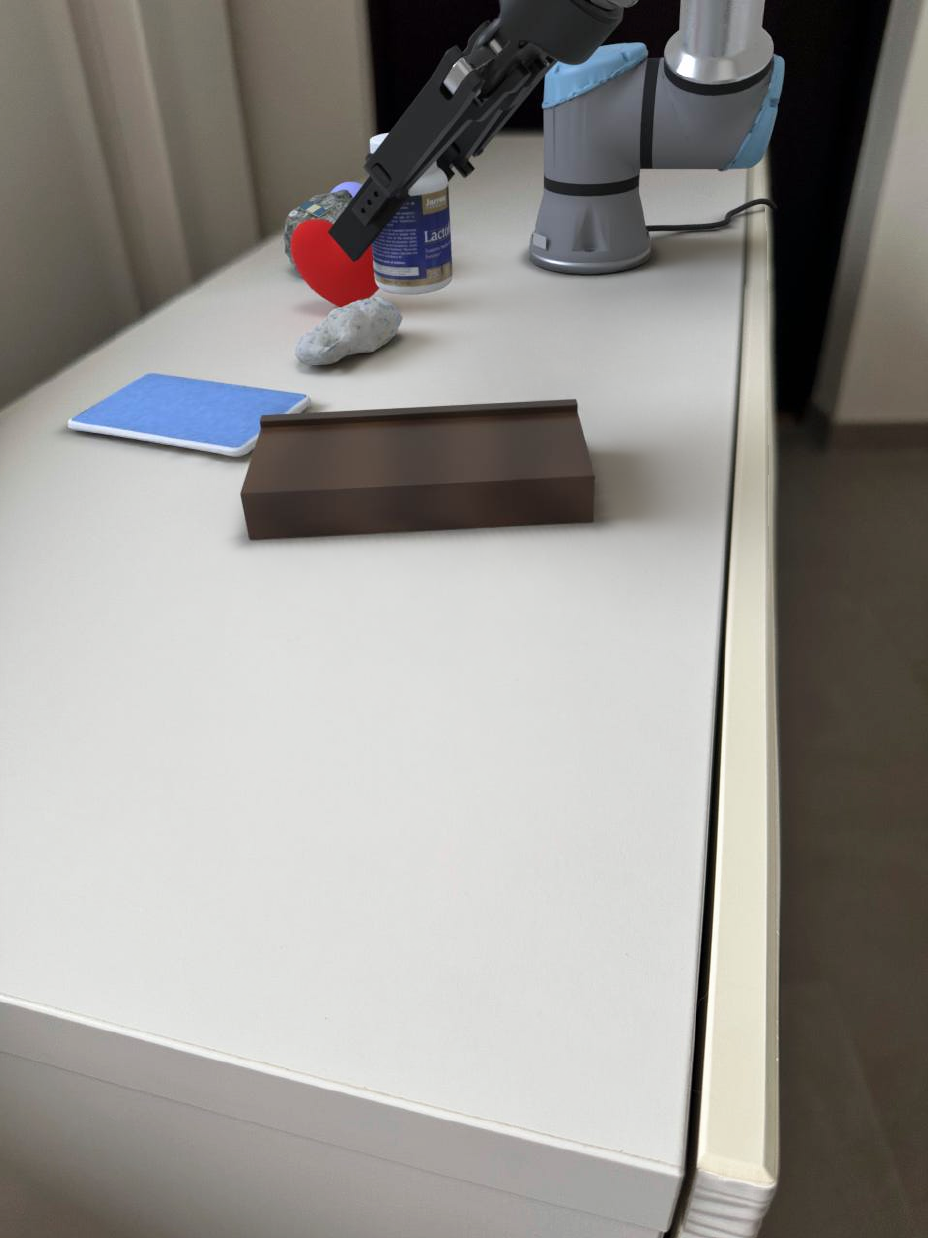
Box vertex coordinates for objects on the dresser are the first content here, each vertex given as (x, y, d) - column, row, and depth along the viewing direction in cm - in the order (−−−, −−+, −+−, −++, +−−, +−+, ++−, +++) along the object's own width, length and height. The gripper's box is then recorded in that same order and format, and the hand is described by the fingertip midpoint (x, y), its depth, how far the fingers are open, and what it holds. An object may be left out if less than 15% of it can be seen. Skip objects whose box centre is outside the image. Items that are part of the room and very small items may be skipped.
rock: (443, 243, 131) (426, 170, 124) (404, 311, 124) (383, 238, 116) (324, 240, 138) (300, 171, 130) (279, 305, 130) (251, 235, 122)
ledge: (575, 449, 86) (576, 398, 84) (593, 522, 76) (595, 467, 74) (269, 464, 86) (261, 414, 84) (249, 540, 77) (238, 486, 74)
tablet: (65, 433, 93) (61, 419, 93) (150, 380, 103) (147, 368, 102) (241, 465, 87) (239, 451, 86) (316, 405, 96) (314, 392, 95)
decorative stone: (363, 326, 112) (358, 280, 109) (413, 336, 109) (410, 289, 106) (286, 369, 103) (278, 320, 100) (338, 381, 100) (332, 330, 97)
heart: (291, 316, 116) (278, 225, 110) (309, 300, 120) (297, 212, 114) (388, 321, 113) (380, 228, 108) (403, 304, 118) (396, 214, 112)
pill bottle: (444, 298, 72) (434, 145, 66) (366, 296, 73) (350, 146, 67) (460, 272, 76) (453, 127, 70) (387, 271, 77) (374, 128, 71)
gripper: (559, 38, 52) (330, 315, 68) (675, -2, 65) (461, 238, 81) (462, -85, 51) (253, 226, 67) (600, -100, 64) (398, 163, 80)
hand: (367, 232), depth 74 cm, fingers closed on pill bottle, 6 cm apart
